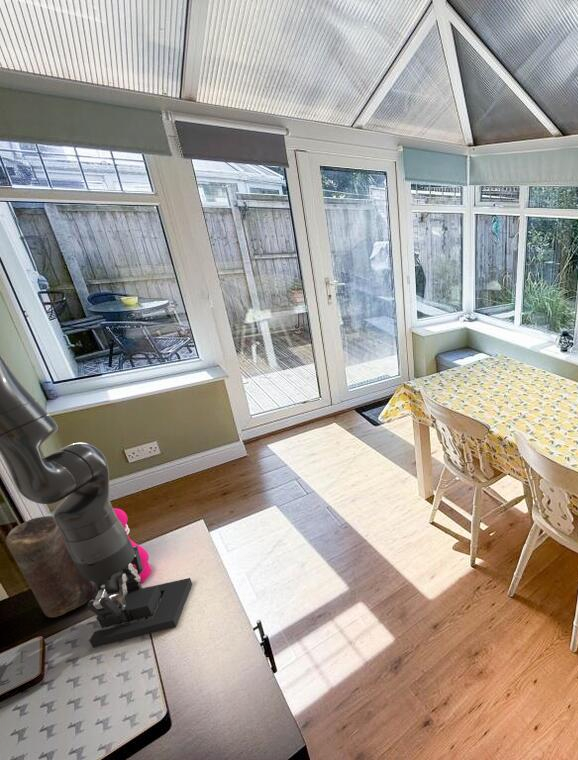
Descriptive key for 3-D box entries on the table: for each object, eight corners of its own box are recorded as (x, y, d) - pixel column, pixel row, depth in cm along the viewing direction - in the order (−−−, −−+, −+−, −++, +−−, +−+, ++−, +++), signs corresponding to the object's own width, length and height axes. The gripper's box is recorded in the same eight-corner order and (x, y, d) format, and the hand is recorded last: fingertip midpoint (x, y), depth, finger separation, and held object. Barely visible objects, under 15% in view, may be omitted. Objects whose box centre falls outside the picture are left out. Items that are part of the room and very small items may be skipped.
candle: (97, 581, 90) (60, 509, 82) (98, 604, 85) (58, 530, 77) (46, 602, 85) (1, 528, 77) (44, 627, 80) (-4, 551, 72)
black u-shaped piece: (92, 648, 77) (88, 641, 76) (118, 600, 86) (115, 594, 85) (176, 627, 81) (173, 620, 80) (192, 584, 90) (190, 577, 89)
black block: (101, 628, 79) (95, 618, 78) (113, 606, 83) (108, 595, 82) (152, 616, 81) (147, 605, 80) (161, 594, 86) (157, 584, 84)
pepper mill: (152, 559, 95) (122, 490, 87) (156, 578, 91) (125, 507, 83) (110, 577, 91) (74, 505, 83) (113, 598, 86) (75, 525, 78)
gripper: (94, 523, 80) (124, 585, 87) (50, 583, 68) (89, 649, 75) (141, 514, 82) (167, 575, 89) (107, 571, 70) (140, 636, 77)
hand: (131, 609), depth 82 cm, fingers closed on black block, 5 cm apart
